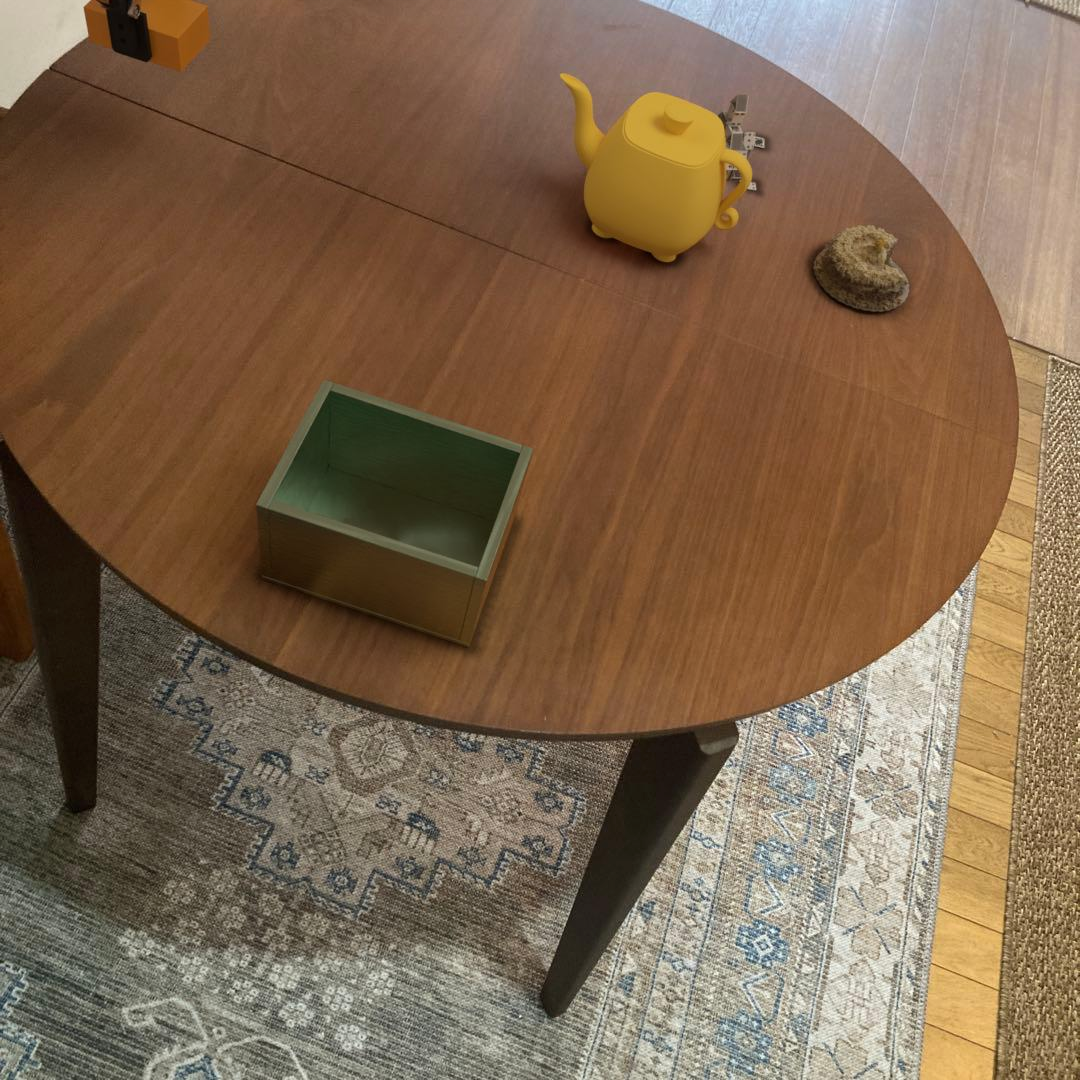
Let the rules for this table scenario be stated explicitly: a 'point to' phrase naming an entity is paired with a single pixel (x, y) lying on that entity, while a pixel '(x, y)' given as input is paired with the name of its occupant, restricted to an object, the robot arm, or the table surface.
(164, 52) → the block
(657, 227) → the teapot
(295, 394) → the table surface
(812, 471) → the table surface
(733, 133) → the house of cards
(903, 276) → the cake
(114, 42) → the robot arm
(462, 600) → the bin
